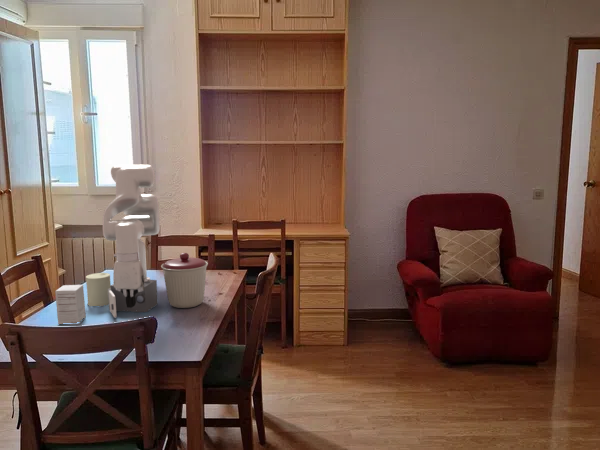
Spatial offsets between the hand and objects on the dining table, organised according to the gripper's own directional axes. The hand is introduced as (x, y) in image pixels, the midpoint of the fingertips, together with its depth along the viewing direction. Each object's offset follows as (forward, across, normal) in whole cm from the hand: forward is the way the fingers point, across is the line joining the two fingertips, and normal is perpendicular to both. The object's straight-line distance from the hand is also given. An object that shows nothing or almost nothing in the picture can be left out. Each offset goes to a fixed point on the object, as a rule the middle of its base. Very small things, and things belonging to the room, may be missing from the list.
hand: (131, 306), depth 174 cm
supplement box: (+5, -21, -5) cm, 22 cm away
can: (+5, -23, +16) cm, 28 cm away
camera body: (+5, -6, +13) cm, 15 cm away
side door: (+4, -10, +4) cm, 11 cm away
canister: (+5, +13, +20) cm, 24 cm away
